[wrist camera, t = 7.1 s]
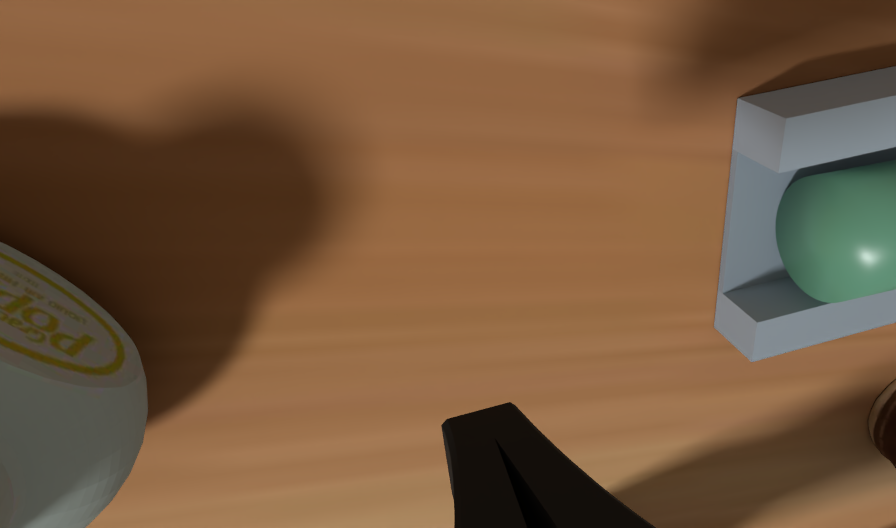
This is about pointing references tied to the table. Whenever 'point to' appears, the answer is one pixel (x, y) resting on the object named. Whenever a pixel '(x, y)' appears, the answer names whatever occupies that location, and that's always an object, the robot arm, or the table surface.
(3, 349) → the air freshener
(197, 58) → the table surface
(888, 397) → the coffee cup
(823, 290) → the bottle
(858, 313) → the cradle
